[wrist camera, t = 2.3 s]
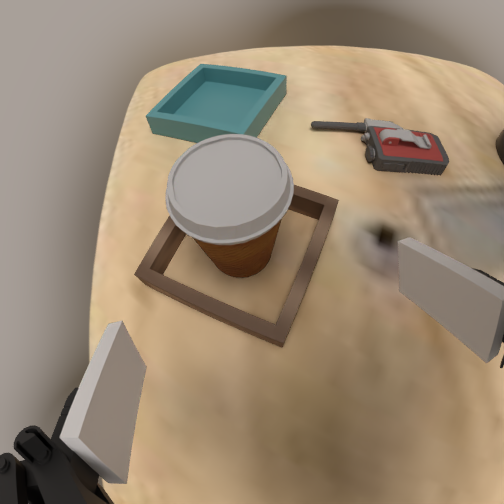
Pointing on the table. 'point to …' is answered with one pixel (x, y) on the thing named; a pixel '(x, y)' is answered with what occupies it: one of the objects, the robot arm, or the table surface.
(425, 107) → the table surface
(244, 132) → the teal tray
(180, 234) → the walnut cup stand
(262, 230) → the disposable coffee cup
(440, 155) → the walkie-talkie
